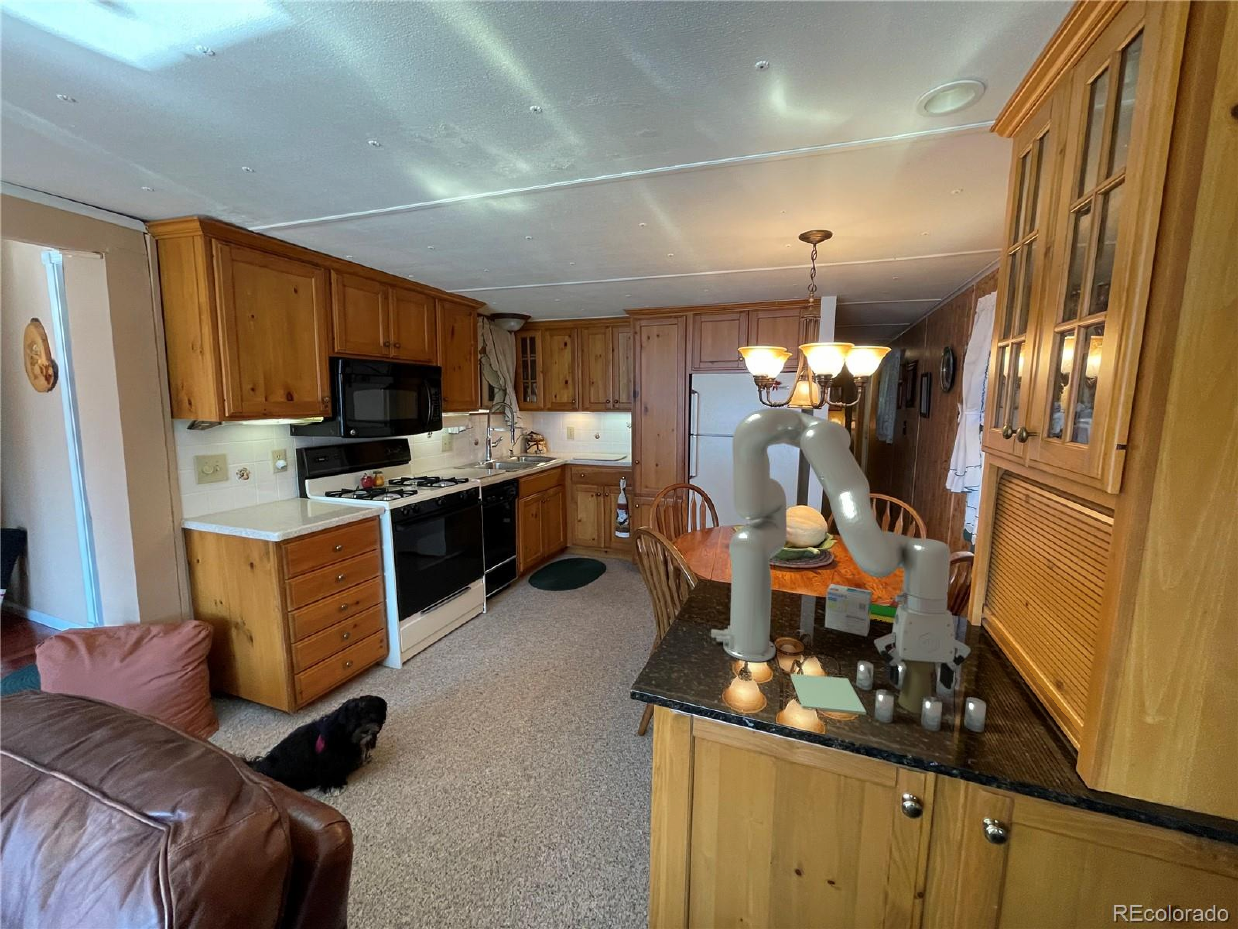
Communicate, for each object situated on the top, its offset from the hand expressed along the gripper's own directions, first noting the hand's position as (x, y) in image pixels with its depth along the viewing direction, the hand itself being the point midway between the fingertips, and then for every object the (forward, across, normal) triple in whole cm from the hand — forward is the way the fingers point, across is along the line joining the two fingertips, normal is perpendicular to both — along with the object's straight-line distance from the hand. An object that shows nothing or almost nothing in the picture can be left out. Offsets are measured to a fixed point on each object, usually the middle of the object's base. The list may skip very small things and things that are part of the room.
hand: (919, 683), depth 98 cm
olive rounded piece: (+5, 0, 0) cm, 5 cm away
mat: (+4, -17, +1) cm, 18 cm away
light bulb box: (+5, -3, +35) cm, 36 cm away
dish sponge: (+5, +11, +44) cm, 46 cm away
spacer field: (+5, 0, 0) cm, 5 cm away
